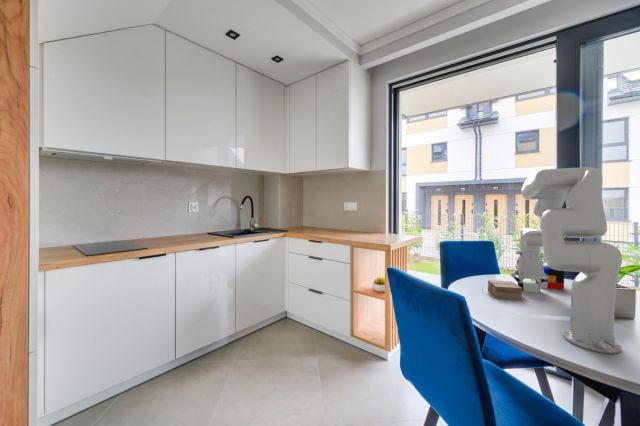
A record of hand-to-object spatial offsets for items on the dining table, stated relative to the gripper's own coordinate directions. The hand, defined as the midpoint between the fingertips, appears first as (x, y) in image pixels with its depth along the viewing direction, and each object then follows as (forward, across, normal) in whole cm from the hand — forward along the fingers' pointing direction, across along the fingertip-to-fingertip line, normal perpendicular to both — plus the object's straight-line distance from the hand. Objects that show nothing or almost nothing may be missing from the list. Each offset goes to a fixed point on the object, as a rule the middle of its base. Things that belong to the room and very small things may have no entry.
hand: (528, 291), depth 129 cm
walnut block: (-1, -14, -10) cm, 17 cm away
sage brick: (+1, 0, 0) cm, 1 cm away
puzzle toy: (+1, +14, +14) cm, 20 cm away
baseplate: (+1, -14, -10) cm, 17 cm away
